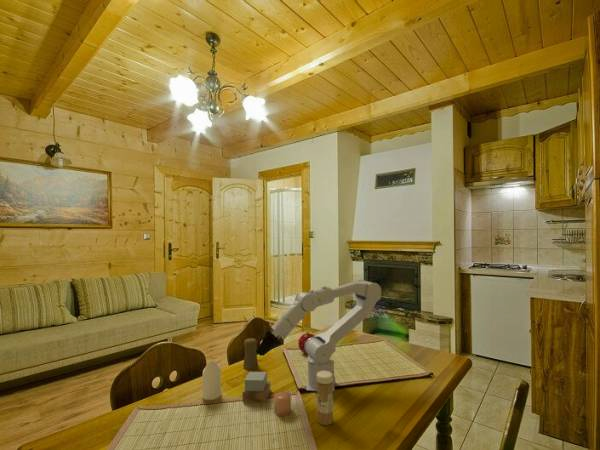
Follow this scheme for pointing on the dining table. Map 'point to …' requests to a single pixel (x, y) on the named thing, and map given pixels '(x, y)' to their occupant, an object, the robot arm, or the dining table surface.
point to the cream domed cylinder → (211, 381)
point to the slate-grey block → (256, 381)
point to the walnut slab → (257, 394)
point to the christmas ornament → (304, 341)
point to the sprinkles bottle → (325, 397)
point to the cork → (250, 354)
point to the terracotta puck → (282, 404)
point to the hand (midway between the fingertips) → (259, 353)
